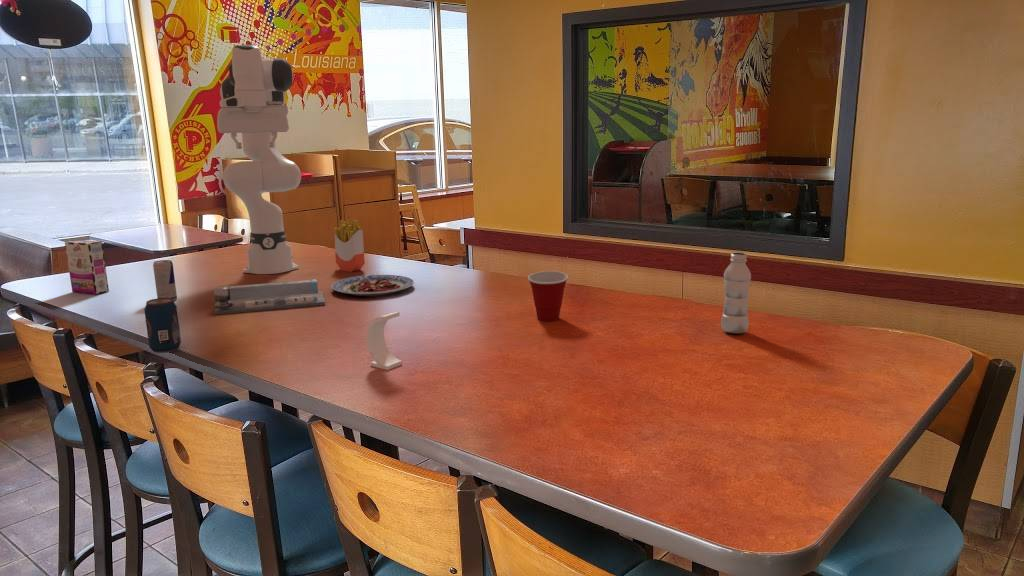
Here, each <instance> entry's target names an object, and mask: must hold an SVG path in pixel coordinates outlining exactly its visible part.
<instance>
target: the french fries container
mask: <svg viewBox="0 0 1024 576" xmlns="http://www.w3.org/2000/svg"><path fill="white" fill-rule="evenodd" d="M333 229H334V255H335V263H336V265H337V266H338V267H339V269H340V270H341V271H345V272H349V273H352V272H356V271H360V270H361V269H362V268H363V267H364V265H365V249H364V231H363V229H362V226H360V222H359V220H358V219H355V220H354V219H351V220H350V219H349V218H347V219H345V220H343V219H341V220H339V227H334V228H333Z"/></svg>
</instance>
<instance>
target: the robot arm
mask: <svg viewBox="0 0 1024 576" xmlns="http://www.w3.org/2000/svg"><path fill="white" fill-rule="evenodd" d="M231 52H232V53H231V54H232V55H231V63H230V64H228V75H229V76H228V77H226V78H225V79H224V80H223V81H222V82H221V86H220V89H219V94H220V101H219V106H220V107H221V108H220V109H219V110H218V112H217V131H218V132H219V133H220V134H230V137H231V139H232V140H233V142H234V143H235V148H236V149H237V150H238V149H239V150H240V149H242V150H243V152H244V154H245V155H246V157H247V158H248V159H249V160H247V161H246V160H245V161H243V160H241V161H237V162H232V163H228V164H227V165H226V167H225V168H224V170H223V172H222V181H223V184H224V186H225V187H226V189H227V190H228V191H230V192H231V193H232V194H234V195H236V196H237V198H239V199H240V200H241V201H242V202H243V205H244V206H245V207H246V210H247V213H248V218H249V224H250V231H251V232H250V233H249V234H250V235H249V238H250V239H249V240H250V246H249V247H248V248H247V250H246V251H247V252H246V254H247V266H246V267H245V268H244V269H243V272H242V273H245V274H255V275H272V274H281V273H285V272H289V271H292V270H293V271H294V270H298V269H299V265H298V264H296V263H295V262H293V254H292V247H291V245H290V244H288V243H287V242H286V241H287V234H286V230H285V228H284V216H283V210H282V209H281V207H280V206H279V205H278V204H275V203H273V202H271V201H268V200H266V199H265V198H264V197H263V196H262V194H263V193H279V192H280V193H282V192H287V191H292V190H295V189H297V188H298V187H299V185H300V183H301V181H302V173H301V170H300V167H299V166H298V165H297V163H296V162H294V161H292V160H290V159H288V158H286V157H285V156H284V155H282V153H280V151H279V150H278V147H277V143H276V140H277V138H278V133H287V132H288V131H289V129H290V127H289V120H288V116H287V115H288V114H289V111H288V105H287V104H286V103H285V102H284V101H285V100H286V99H285V98H286V92H287V91H288V90H290V88H292V86H293V82H294V71H293V68H292V65H291V64H290V63H289V61H287V60H286V59H285V58H283V57H281V58H280V57H279V58H277V57H275V58H263V57H262V53H261V49H260V47H259V46H257V45H254V44H236V45H235V46H233V47H232V51H231ZM237 134H241V139H242V142H239V141H238V139H237V136H238V135H237Z"/></svg>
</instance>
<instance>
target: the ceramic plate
mask: <svg viewBox="0 0 1024 576" xmlns="http://www.w3.org/2000/svg"><path fill="white" fill-rule="evenodd" d="M414 283H415V281H414V279H412V278H410V277H408V276H403V275H397V274H367V275H358V276H351V277H347V278H343V279H340V280H338V281H337V280H336V281H335V282H334V283H333V284H332V285H331V289H332V290H333V291H335V292H338V293H342V294H349V295H352V296H358V297H359V296H361V297H377V296H383V295H389V294H393V293H396V292H400V291H403V290H406V289H408V288H410V287H412V286H413V285H414Z"/></svg>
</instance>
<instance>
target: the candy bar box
mask: <svg viewBox="0 0 1024 576" xmlns="http://www.w3.org/2000/svg"><path fill="white" fill-rule="evenodd" d="M64 246H65V253H66V260H67V266H68V267H67V268H68V273H69V278H70V286H71V291H72V293H78V294H88V295H100V294H101V295H102V294H104V293H108V292H110V289H109V281H108V276H107V268H106V262H105V255H104V246H103V241H100V240H99V241H98V240H97V241H96V240H79V239H77V240H70V241H65V242H64Z"/></svg>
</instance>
